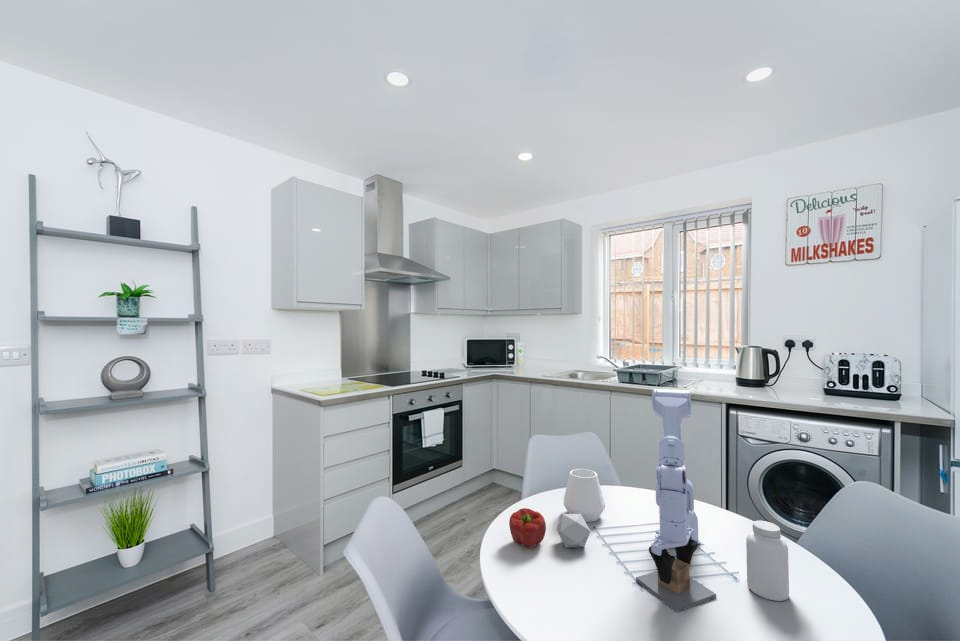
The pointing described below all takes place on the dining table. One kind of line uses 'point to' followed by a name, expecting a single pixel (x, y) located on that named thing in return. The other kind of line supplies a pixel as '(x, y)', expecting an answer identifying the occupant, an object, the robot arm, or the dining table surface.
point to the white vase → (584, 495)
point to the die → (573, 530)
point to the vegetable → (527, 527)
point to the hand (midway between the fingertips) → (674, 576)
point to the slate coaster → (675, 601)
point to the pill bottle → (767, 562)
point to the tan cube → (678, 577)
